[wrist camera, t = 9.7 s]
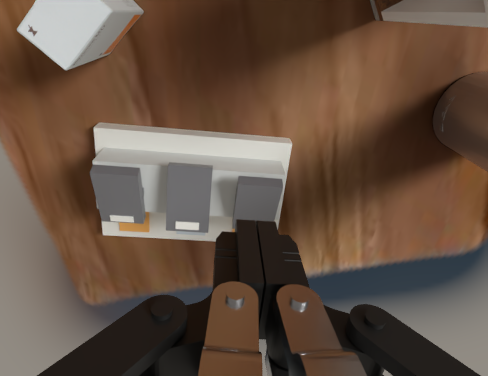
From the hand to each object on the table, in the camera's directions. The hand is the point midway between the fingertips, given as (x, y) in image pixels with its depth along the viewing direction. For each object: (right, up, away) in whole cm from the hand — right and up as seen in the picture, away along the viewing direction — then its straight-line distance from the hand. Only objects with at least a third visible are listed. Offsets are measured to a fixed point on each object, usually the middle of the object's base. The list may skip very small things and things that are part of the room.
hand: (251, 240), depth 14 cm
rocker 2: (+1, +1, +24) cm, 24 cm away
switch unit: (-7, +2, +31) cm, 32 cm away
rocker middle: (-6, +1, +24) cm, 24 cm away
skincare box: (-14, +19, +22) cm, 33 cm away
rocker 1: (-13, +2, +23) cm, 27 cm away
